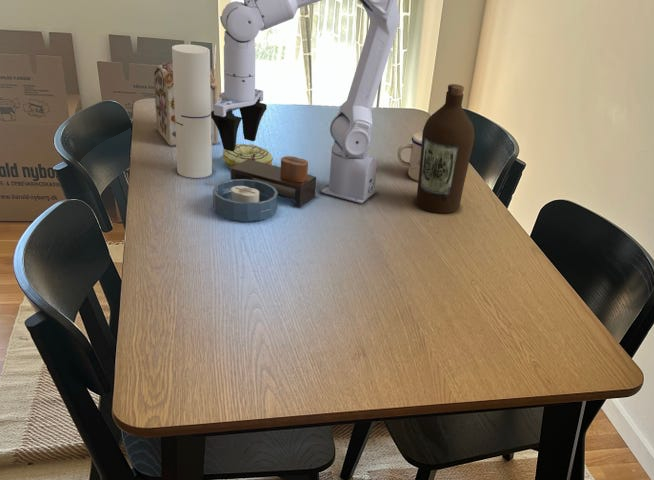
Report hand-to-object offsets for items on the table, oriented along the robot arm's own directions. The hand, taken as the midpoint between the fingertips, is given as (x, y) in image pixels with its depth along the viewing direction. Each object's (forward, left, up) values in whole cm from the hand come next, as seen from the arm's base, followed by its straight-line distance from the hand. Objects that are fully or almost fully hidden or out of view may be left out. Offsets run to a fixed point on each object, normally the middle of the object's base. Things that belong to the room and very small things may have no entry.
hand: (239, 144), depth 148 cm
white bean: (-5, +6, -10) cm, 13 cm away
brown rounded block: (-10, -5, -6) cm, 12 cm away
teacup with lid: (-27, -35, -11) cm, 45 cm away
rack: (-5, -5, -10) cm, 13 cm away
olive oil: (-36, -21, -11) cm, 43 cm away
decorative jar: (+28, -22, -11) cm, 37 cm away
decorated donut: (+7, -15, -11) cm, 20 cm away
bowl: (-5, +6, -10) cm, 13 cm away
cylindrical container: (+14, -5, -11) cm, 18 cm away
